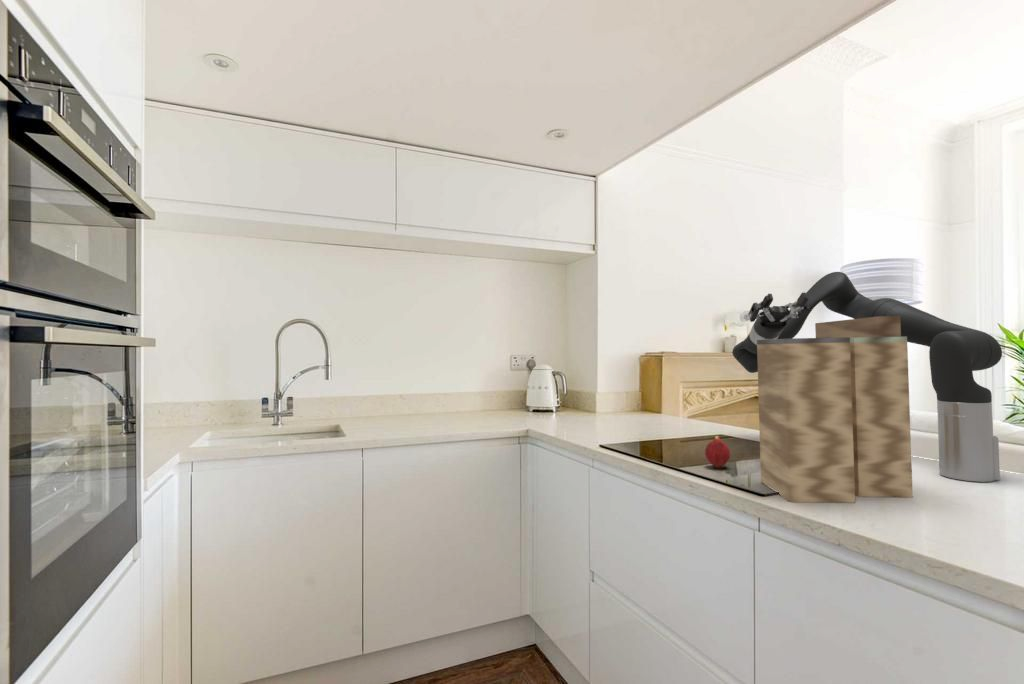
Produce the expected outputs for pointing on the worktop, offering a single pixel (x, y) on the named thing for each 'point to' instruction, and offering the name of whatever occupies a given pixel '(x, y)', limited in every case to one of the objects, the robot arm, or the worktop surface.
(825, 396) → the tower
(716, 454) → the onion
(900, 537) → the worktop surface
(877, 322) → the walnut bar
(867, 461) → the tower
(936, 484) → the worktop surface
